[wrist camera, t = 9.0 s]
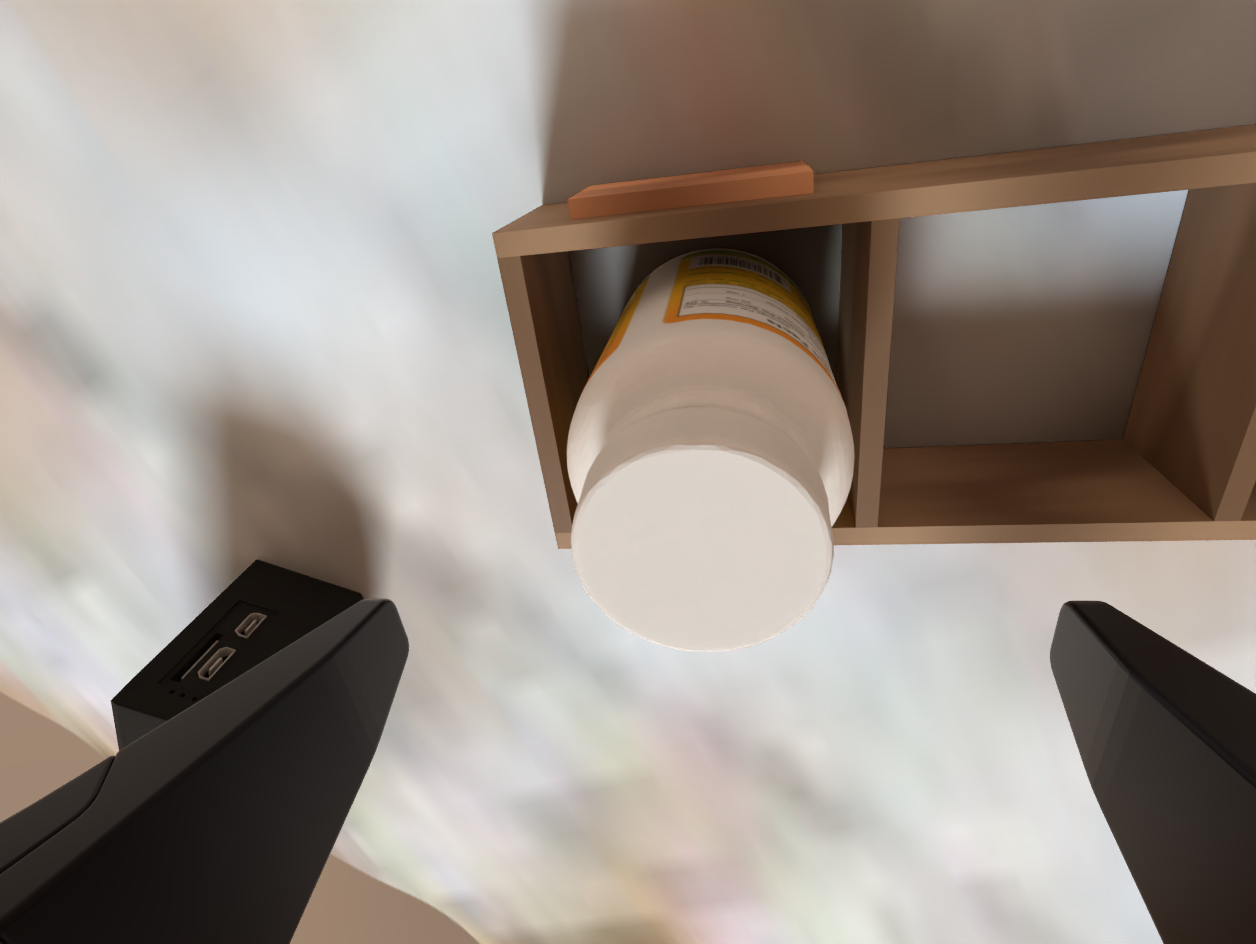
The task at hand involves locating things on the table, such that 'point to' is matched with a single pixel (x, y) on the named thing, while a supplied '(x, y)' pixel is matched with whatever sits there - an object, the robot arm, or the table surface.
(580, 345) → the bottle rack
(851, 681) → the table surface
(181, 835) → the robot arm
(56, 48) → the table surface
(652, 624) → the supplement bottle
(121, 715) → the digital camera
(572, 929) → the table surface
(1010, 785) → the table surface
